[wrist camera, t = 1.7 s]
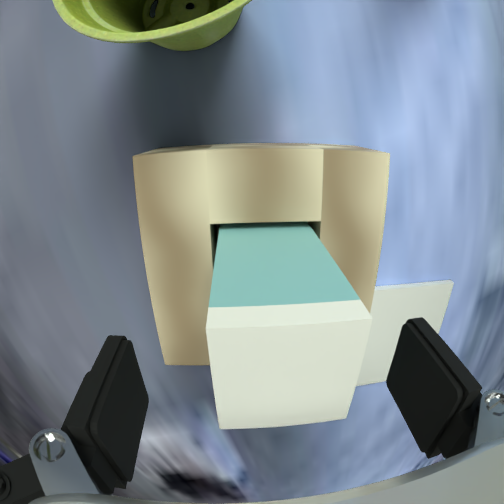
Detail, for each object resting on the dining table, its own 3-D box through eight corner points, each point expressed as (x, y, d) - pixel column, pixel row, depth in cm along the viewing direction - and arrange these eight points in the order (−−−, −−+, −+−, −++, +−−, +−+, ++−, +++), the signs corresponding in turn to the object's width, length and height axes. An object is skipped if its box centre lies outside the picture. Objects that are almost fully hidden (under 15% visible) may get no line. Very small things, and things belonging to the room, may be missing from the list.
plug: (295, 205, 19) (372, 318, 8) (293, 271, 21) (346, 418, 10) (222, 207, 19) (205, 328, 8) (225, 273, 20) (219, 428, 9)
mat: (450, 279, 22) (453, 282, 22) (420, 369, 26) (423, 373, 26) (342, 288, 22) (345, 292, 21) (326, 385, 26) (328, 390, 25)
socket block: (354, 145, 18) (389, 153, 14) (339, 311, 23) (360, 354, 18) (158, 148, 18) (132, 156, 13) (177, 318, 22) (165, 364, 18)
